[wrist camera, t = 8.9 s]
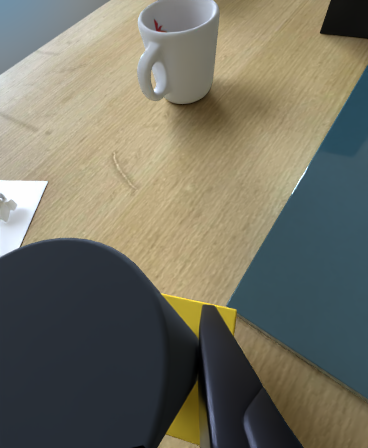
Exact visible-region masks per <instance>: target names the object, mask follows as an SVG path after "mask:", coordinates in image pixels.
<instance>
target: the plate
mask: <svg viewBox="0 0 368 448" xmlns="http://www.w3.org/2000/svg"><path fill="white" fill-rule="evenodd" d="M226 307H228V308H232V309H236V310H237V315H236V316H238V317H239V318H241V319H242V320H244V321H245V322H247V323H248V324H250V325H251V326H253V327H254V328H256V329H257V330H259V331H260V332H262V333H263V334H265V335H266V336H268V337H269V338H271V339H272V340H274V341H275V342H277V343H278V344H280V345H281V346H283V347H284V348H286V349H287V350H289V351H290V352H292V353H293V354H295V355H296V356H298V357H299V358H301V359H302V360H304V361H305V362H307V363H308V364H310V365H311V366H313V367H314V368H316V369H317V370H319V371H320V372H322V373H323V374H325V375H326V376H328V377H329V378H331V379H332V380H334V381H336V382H337V383H339V384H340V385H342V386H343V387H345V388H346V389H348V390H349V391H351V392H352V393H354V394H355V395H357V396H358V397H360V398H361V399H363V400H364V401H366V402H367V403H368V65H367V67H366V68H365V70H364V72H363V73H362V75H361V77H360V79H359V80H358V82H357V84H356V85H355V87H354V89H353V90H352V92H351V94H350V96H349V97H348V99H347V101H346V102H345V104H344V106H343V107H342V109H341V111H340V113H339V114H338V116H337V118H336V119H335V121H334V123H333V124H332V126H331V128H330V130H329V131H328V133H327V135H326V136H325V138H324V140H323V141H322V143H321V145H320V147H319V148H318V150H317V152H316V153H315V155H314V157H313V158H312V160H311V162H310V164H309V165H308V167H307V169H306V170H305V172H304V174H303V175H302V177H301V179H300V181H299V182H298V184H297V186H296V187H295V189H294V191H293V192H292V194H291V196H290V197H289V199H288V201H287V203H286V204H285V206H284V208H283V209H282V211H281V213H280V214H279V216H278V218H277V220H276V221H275V223H274V225H273V226H272V228H271V230H270V231H269V233H268V235H267V237H266V238H265V240H264V242H263V243H262V245H261V247H260V248H259V250H258V252H257V254H256V255H255V257H254V259H253V260H252V262H251V264H250V265H249V267H248V269H247V271H246V272H245V274H244V276H243V277H242V279H241V281H240V282H239V284H238V286H237V288H236V289H235V291H234V293H233V294H232V296H231V298H230V299H229V301H228V303H227V305H226Z"/></svg>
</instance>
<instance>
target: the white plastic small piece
mask: <svg viewBox="0 0 368 448" xmlns="http://www.w3.org/2000/svg"><path fill="white" fill-rule="evenodd" d="M18 206H19V204H18V203H17V202H16V201H15V200H14V199H12V198H8V197H6V195H5V194H3V193H2V192H0V222H2V223H6V224H8V223H9V219H10V215H11V211H13V212H15V211H16V209H17V207H18Z"/></svg>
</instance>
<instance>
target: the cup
mask: <svg viewBox="0 0 368 448" xmlns="http://www.w3.org/2000/svg"><path fill="white" fill-rule="evenodd" d="M219 15H220V13H219V7H218V5H217V4H216V3H215V1H213V0H158V1H156V2H154V3H152V4H150V5H149V6H147V7H146V8H145V9H144V10H143V11H142V12H141V14H140V16H139V18H138V27H139V31H140V34H141V37H142V40H143V43H144V46H145V49H146V51H145V52H144V53H143V55H142V56H141V58H140V60H139V63H138V69H137V74H138V80H139V84H140V87H141V90H142V92H143V94H144V95H145V96H146V97H147V98H148V99H150V100H153V101H159V100H161V99H162V98H163V97H164V98H165V99H167V100H168V101H170V102H173V103H177V104H187V103H192V102H195V101H198V100H200V99H201V98H203V97H204V96H205V95H206V94H207V93H208V91H209V90H210V88H211V85H212V81H213V74H214V65H215V55H216V45H217V35H218V26H219ZM151 70H152V72H153V75H154V78H155V81H156V88H155V89H154V90H153V88H152V84H151Z"/></svg>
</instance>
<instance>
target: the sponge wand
mask: <svg viewBox="0 0 368 448" xmlns="http://www.w3.org/2000/svg"><path fill="white" fill-rule="evenodd" d="M204 304H207V305H213V304H209V303H204V302H199V301H194V300H190V299H185V298H180V297H176V296H171V295H166V294H161V293H160V292H159V291H158V290H157V288H156V287H155V286H154V285H153V284H152V282H151V281H150V280H149V279H148V278H147V277H146V275H145V274H144V273H143V272H142V271H141V270H140V269H139V267H138V266H137V265H136V264H135V263H134V262H132V261H131V260H130V259H129V258H128V257H126V256H125V255H124V254H122V253H121V252H119V251H117V250H116V249H114V248H112V247H109V246H107V245H105V244H102V243H99V242H95V241H91V240H87V239H78V238H56V239H49V240H43V241H39V242H35V243H31V244H28V245H26V246H23V247H20V248H18V249H15V250H13V251H11V252H9V253H7V254H5V255H3V256H1V257H0V448H157V447H158V446H159V444H160V442H161V441H162V439H163V437H164V436H165V434H166V435H169V436H172V437H175V438H178V439H181V440H184V441H187V442H190V443H194V444H197V445H200V431H199V402H198V350H199V323H200V317H201V310H202V305H204ZM215 306H216V308H217V310H218V311H219V313H220V315H221V316H222V318H223V320H224V321H225V323H226V325H227V326H228V328H229V330H230V331H231V333H232V335H233V336H234V332H235V324H236V315H237V310H236V309H232V308H228V307H223V306H218V305H215Z"/></svg>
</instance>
